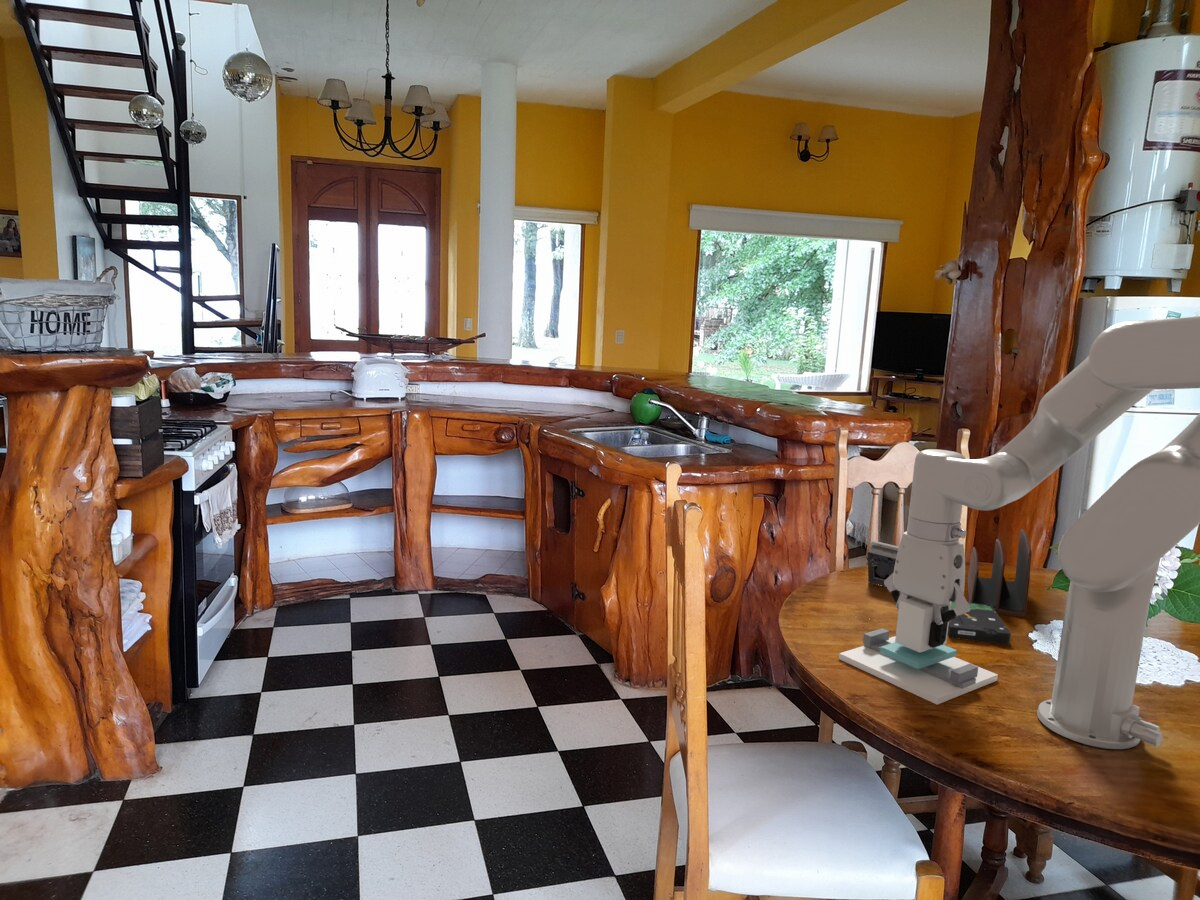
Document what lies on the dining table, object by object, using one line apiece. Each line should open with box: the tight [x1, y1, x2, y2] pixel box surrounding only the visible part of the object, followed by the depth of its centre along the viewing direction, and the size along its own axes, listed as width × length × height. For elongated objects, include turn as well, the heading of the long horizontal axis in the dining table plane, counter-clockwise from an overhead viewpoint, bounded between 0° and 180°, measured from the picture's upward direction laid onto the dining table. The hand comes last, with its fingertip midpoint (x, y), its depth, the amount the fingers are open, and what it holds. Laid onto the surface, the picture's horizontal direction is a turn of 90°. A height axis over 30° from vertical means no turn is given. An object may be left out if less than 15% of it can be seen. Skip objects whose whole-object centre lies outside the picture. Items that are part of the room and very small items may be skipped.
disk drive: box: [947, 601, 1012, 646], centre depth 153 cm, size 10×3×15 cm
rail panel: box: [838, 627, 999, 705], centre depth 132 cm, size 18×16×3 cm
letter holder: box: [966, 528, 1033, 618], centre depth 168 cm, size 10×20×14 cm, turn 158°
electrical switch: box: [866, 540, 899, 588], centre depth 172 cm, size 9×5×9 cm, turn 47°
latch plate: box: [880, 642, 958, 669], centre depth 132 cm, size 7×10×1 cm
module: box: [895, 597, 951, 653], centre depth 131 cm, size 5×7×7 cm
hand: (920, 638), depth 132 cm, fingers open, 5 cm apart
